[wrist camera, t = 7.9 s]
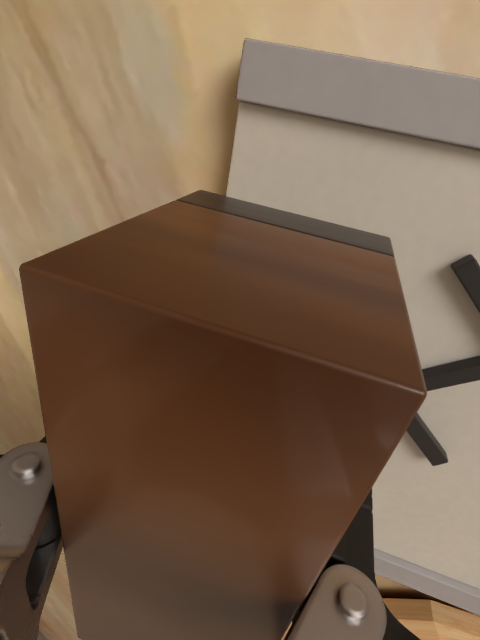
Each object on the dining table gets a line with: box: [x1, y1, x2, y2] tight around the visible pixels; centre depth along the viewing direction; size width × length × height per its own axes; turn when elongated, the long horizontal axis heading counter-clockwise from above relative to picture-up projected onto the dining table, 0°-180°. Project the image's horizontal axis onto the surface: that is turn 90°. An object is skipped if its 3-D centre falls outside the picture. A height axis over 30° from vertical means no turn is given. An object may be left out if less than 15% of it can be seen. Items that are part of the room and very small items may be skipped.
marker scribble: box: [406, 254, 480, 466], centre depth 14 cm, size 9×4×1 cm, turn 170°
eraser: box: [19, 190, 427, 640], centre depth 10 cm, size 12×5×6 cm, turn 170°
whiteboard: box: [226, 38, 480, 616], centre depth 16 cm, size 23×18×1 cm
